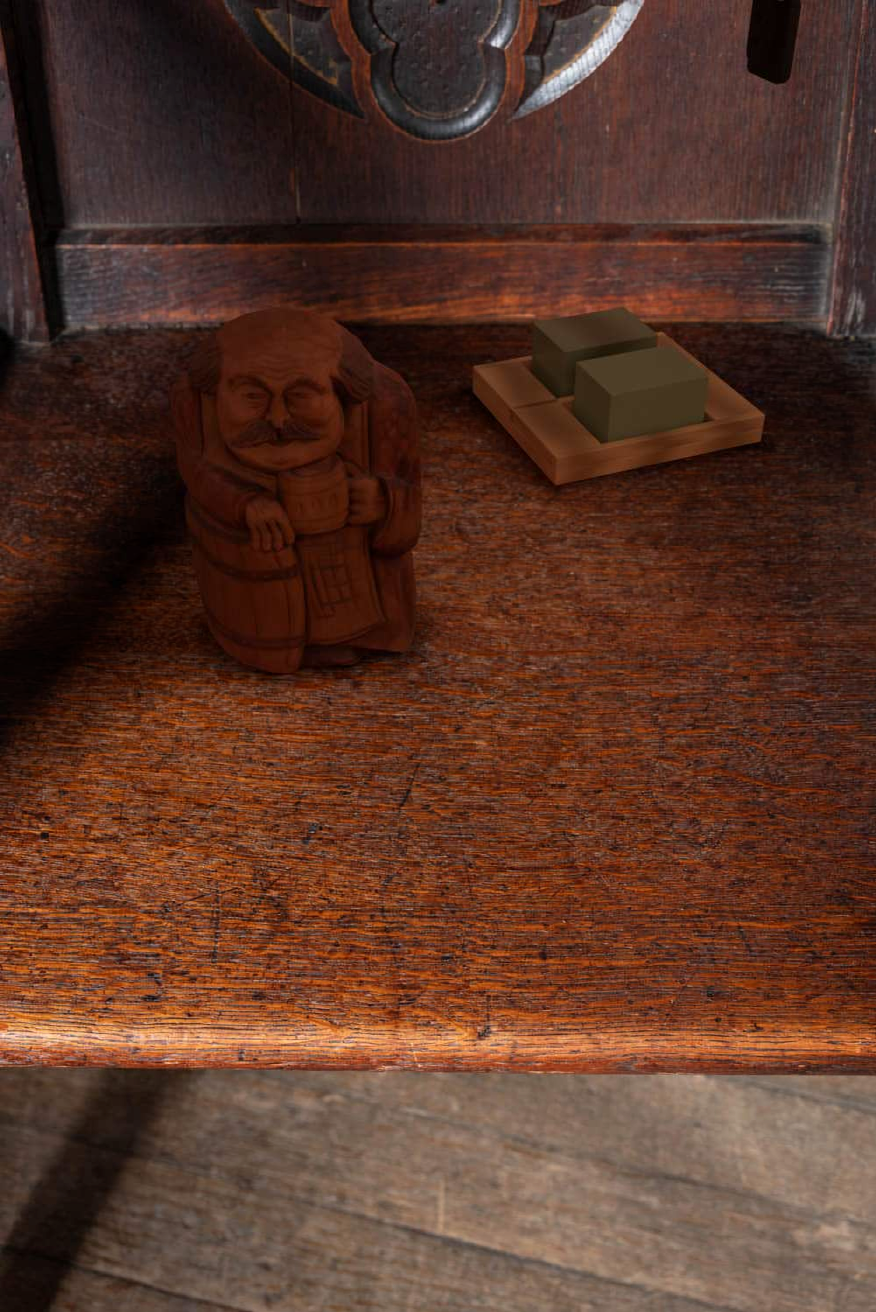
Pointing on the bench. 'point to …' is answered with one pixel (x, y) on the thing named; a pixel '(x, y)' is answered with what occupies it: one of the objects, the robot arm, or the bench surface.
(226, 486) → the wooden figurine
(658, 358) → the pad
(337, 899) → the bench surface
